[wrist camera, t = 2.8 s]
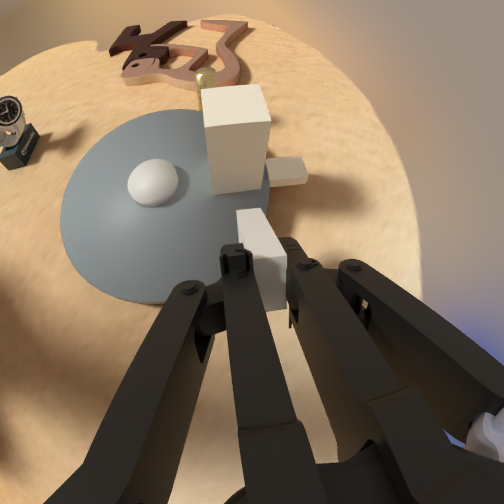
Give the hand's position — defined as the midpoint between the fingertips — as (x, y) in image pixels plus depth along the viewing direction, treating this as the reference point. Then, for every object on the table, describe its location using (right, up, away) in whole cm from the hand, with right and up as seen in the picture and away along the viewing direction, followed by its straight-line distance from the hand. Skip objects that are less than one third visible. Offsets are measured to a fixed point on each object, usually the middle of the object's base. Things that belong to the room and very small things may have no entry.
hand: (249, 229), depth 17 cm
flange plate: (-7, +4, +6) cm, 10 cm away
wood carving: (-14, +32, +18) cm, 39 cm away
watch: (-33, +13, +10) cm, 37 cm away
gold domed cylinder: (-5, +14, +11) cm, 18 cm away
